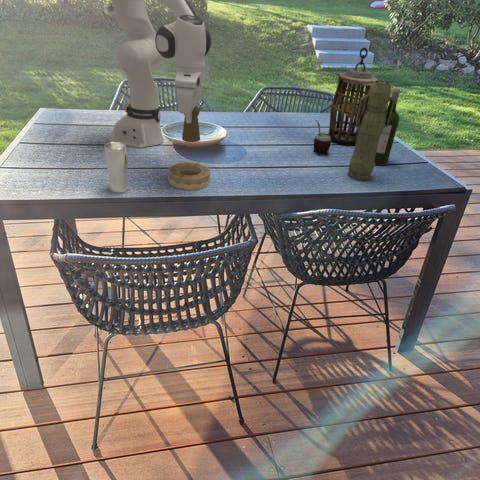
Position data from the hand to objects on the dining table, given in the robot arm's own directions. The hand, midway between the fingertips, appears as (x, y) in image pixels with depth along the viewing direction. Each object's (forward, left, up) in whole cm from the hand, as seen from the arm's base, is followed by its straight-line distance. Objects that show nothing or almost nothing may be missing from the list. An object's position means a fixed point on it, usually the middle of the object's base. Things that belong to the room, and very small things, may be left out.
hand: (190, 119), depth 139 cm
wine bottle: (+72, +38, -22) cm, 84 cm away
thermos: (+62, +21, -22) cm, 69 cm away
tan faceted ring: (0, 0, -22) cm, 22 cm away
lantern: (+61, +62, -22) cm, 89 cm away
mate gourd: (+48, +41, -22) cm, 66 cm away
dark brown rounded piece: (0, 0, -7) cm, 7 cm away
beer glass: (-21, -12, -22) cm, 33 cm away
